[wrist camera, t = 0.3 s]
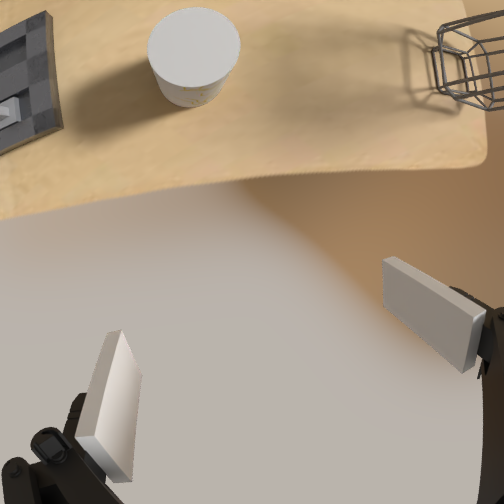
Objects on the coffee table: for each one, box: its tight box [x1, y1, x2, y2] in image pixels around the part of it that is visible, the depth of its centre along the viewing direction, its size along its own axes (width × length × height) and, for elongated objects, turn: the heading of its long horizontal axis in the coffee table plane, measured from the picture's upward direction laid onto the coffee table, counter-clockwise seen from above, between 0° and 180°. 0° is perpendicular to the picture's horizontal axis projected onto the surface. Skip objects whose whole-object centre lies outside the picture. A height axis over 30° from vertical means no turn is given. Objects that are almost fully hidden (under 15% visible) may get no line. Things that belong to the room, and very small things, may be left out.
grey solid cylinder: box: [147, 7, 240, 107], centre depth 29 cm, size 8×8×12 cm
